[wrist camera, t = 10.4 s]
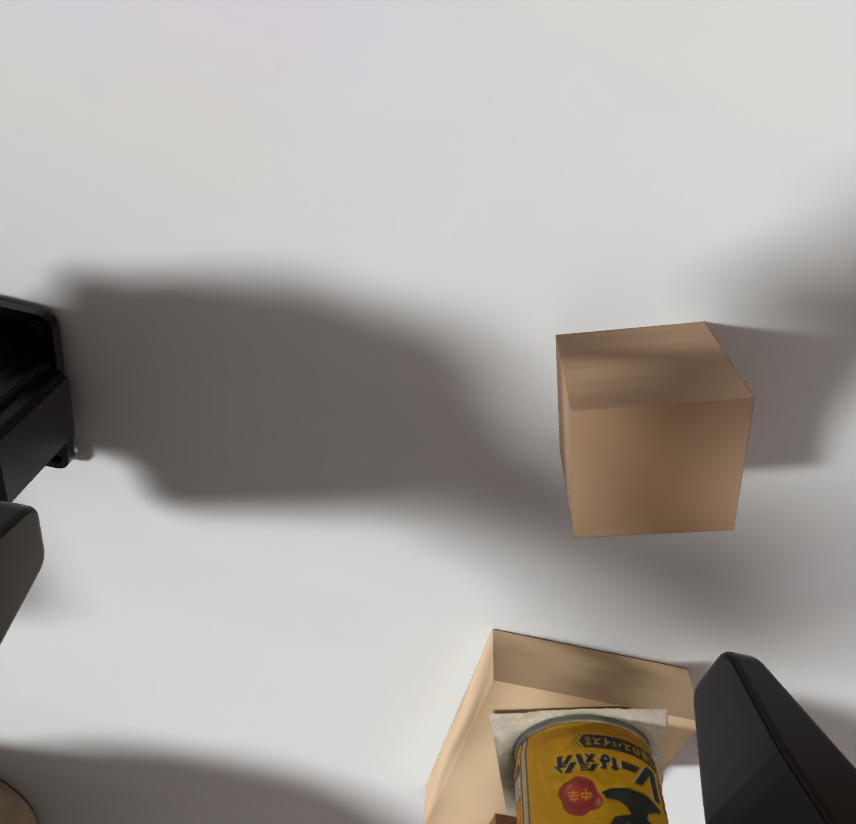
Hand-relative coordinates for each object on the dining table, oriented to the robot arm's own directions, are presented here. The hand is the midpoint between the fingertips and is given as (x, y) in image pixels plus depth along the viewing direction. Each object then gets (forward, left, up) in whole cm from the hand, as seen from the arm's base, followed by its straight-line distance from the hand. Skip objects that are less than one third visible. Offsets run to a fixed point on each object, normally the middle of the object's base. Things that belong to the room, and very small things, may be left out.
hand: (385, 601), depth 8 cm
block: (+7, -3, -13) cm, 15 cm away
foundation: (+10, -23, -13) cm, 28 cm away
